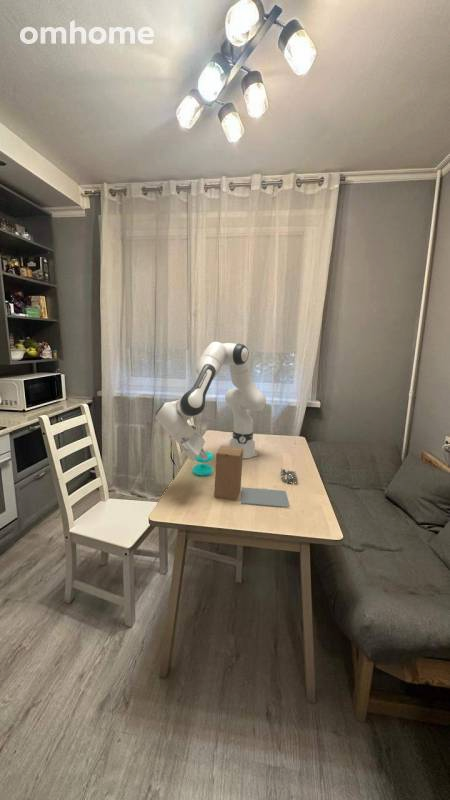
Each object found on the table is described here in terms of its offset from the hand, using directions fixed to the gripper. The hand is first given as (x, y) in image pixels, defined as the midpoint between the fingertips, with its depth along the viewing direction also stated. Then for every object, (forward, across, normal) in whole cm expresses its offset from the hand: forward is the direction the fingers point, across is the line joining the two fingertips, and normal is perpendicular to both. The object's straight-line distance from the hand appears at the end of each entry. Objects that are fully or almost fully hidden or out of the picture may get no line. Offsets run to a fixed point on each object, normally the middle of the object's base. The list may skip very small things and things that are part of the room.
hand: (206, 458), depth 133 cm
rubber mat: (+29, -1, -8) cm, 30 cm away
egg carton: (+39, +20, -16) cm, 47 cm away
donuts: (+8, +20, +14) cm, 26 cm away
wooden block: (+18, 0, +4) cm, 18 cm away
